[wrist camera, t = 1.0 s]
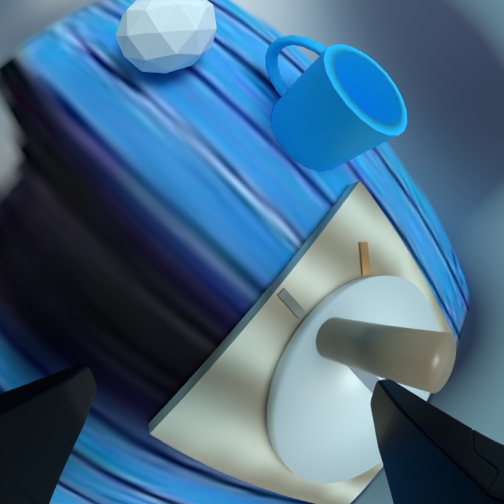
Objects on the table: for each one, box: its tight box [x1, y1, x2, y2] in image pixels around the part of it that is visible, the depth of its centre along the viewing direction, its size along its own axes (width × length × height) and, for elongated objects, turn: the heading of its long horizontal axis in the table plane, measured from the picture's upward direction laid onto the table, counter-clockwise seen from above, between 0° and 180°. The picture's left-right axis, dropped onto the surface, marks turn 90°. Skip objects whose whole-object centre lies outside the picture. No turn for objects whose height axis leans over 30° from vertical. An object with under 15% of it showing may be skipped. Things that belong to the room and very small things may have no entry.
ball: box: [115, 0, 217, 73], centre depth 15 cm, size 8×8×8 cm
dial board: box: [149, 181, 456, 504], centre depth 22 cm, size 26×26×2 cm
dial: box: [267, 276, 456, 484], centre depth 16 cm, size 20×20×10 cm
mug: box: [266, 35, 407, 171], centre depth 19 cm, size 12×8×8 cm
